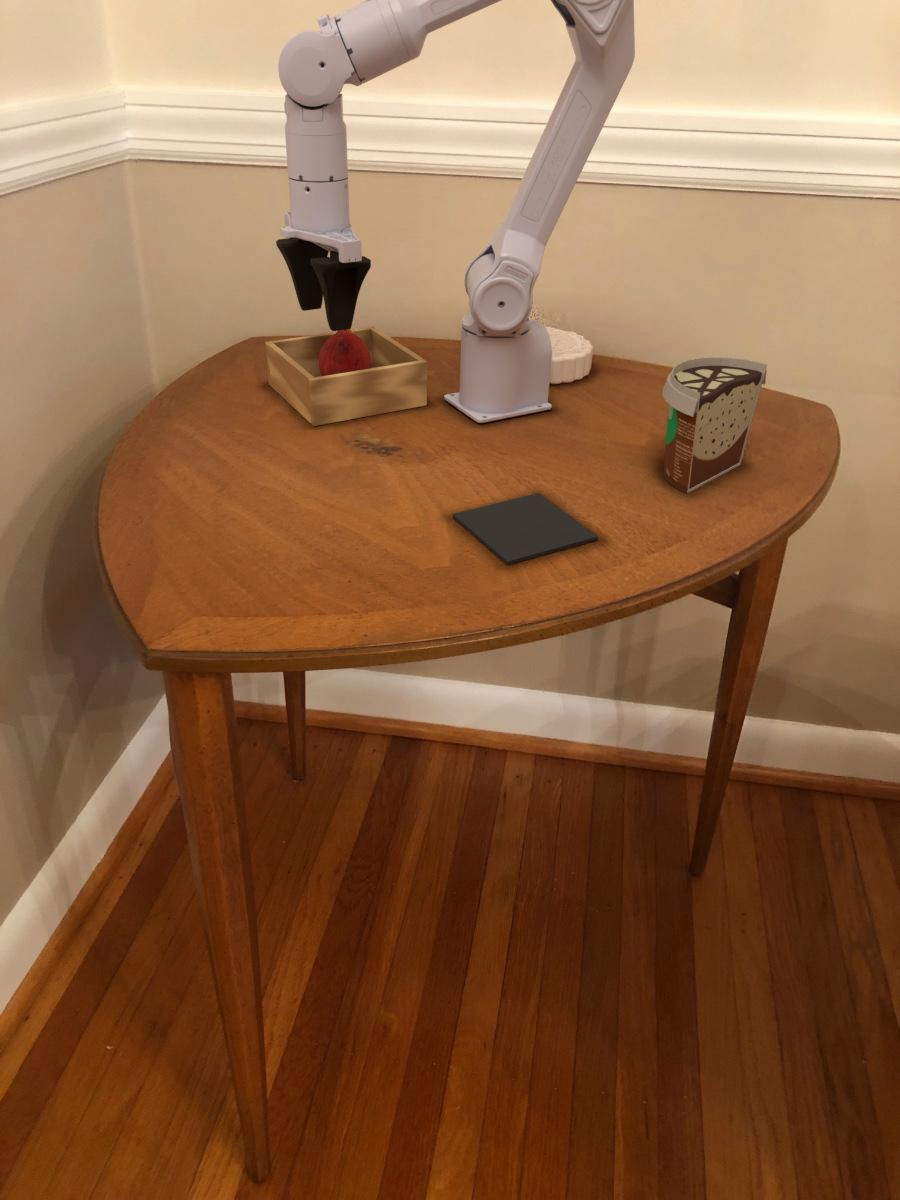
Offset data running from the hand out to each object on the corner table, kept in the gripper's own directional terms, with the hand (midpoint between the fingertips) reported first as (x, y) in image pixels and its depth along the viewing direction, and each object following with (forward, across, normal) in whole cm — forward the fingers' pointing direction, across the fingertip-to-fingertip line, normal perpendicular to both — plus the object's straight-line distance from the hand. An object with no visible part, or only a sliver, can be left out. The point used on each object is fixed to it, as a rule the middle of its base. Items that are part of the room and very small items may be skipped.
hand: (325, 318), depth 98 cm
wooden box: (+10, -2, +3) cm, 10 cm away
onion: (+10, -2, +3) cm, 10 cm away
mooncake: (+10, 0, +28) cm, 30 cm away
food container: (+10, +30, +25) cm, 40 cm away
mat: (+10, +33, +4) cm, 35 cm away
